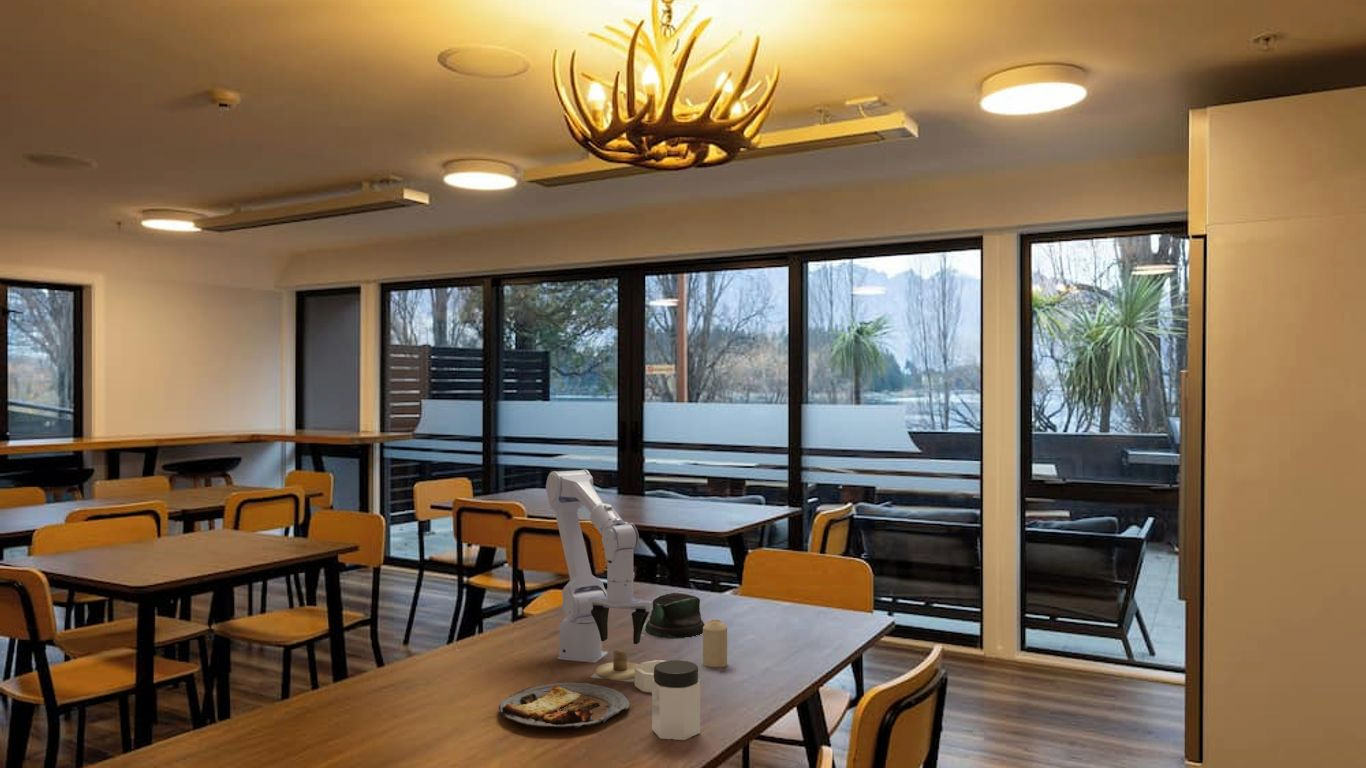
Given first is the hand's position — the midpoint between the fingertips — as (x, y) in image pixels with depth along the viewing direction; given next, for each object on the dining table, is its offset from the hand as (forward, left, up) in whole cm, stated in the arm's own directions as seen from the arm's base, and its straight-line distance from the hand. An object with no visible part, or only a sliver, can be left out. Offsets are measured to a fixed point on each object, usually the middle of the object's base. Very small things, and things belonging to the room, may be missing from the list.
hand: (620, 641), depth 203 cm
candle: (+18, +13, -7) cm, 23 cm away
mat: (0, 0, -7) cm, 7 cm away
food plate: (-2, -25, -8) cm, 26 cm away
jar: (+22, -28, -7) cm, 36 cm away
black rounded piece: (0, +38, -8) cm, 39 cm away
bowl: (+11, -5, -7) cm, 14 cm away
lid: (0, 0, -7) cm, 7 cm away
